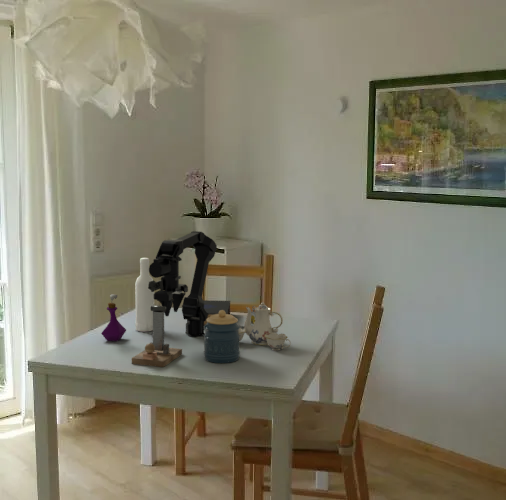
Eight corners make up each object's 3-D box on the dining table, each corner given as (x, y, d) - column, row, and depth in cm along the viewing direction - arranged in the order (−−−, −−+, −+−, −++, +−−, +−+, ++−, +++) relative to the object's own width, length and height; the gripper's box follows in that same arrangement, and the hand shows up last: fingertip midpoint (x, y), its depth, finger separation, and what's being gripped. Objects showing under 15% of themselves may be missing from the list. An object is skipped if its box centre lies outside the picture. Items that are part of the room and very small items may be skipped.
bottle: (137, 332, 270) (136, 260, 266) (133, 327, 278) (133, 257, 274) (156, 331, 273) (156, 259, 269) (152, 326, 280) (152, 256, 276)
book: (230, 314, 305) (230, 300, 304) (227, 328, 280) (227, 313, 279) (192, 314, 305) (192, 300, 304) (186, 327, 281) (186, 312, 280)
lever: (153, 348, 237) (153, 304, 235) (166, 349, 236) (166, 306, 234) (150, 349, 236) (150, 306, 233) (164, 351, 234) (163, 307, 232)
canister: (226, 366, 228) (226, 316, 226) (196, 359, 235) (196, 311, 233) (246, 356, 239) (247, 309, 237) (217, 351, 246) (217, 304, 244)
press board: (152, 351, 245) (152, 332, 244) (182, 354, 241) (182, 335, 240) (131, 363, 229) (131, 343, 228) (163, 367, 226) (163, 346, 225)
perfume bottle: (119, 342, 255) (118, 297, 252) (101, 341, 256) (100, 296, 254) (126, 337, 262) (126, 293, 260) (109, 336, 264) (108, 292, 261)
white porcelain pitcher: (236, 331, 274) (236, 307, 273) (244, 326, 282) (244, 303, 281) (254, 333, 271) (254, 309, 270) (261, 329, 279) (262, 305, 278)
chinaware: (217, 349, 254) (216, 308, 250) (233, 334, 269) (232, 295, 265) (287, 357, 244) (286, 315, 241) (299, 342, 260) (299, 301, 256)
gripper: (162, 268, 261) (162, 307, 263) (140, 276, 243) (140, 317, 246) (188, 270, 258) (188, 309, 260) (168, 278, 240) (168, 320, 242)
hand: (171, 314), depth 252 cm, fingers open, 7 cm apart
